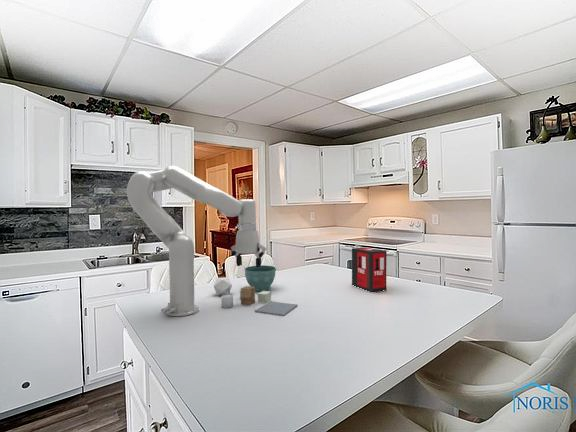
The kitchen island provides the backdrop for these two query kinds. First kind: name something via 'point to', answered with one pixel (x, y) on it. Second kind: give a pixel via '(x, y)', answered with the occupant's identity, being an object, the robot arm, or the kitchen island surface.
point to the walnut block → (247, 295)
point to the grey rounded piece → (227, 301)
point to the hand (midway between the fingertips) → (248, 266)
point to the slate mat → (276, 308)
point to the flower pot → (260, 277)
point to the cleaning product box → (369, 269)
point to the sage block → (264, 296)
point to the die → (222, 286)
